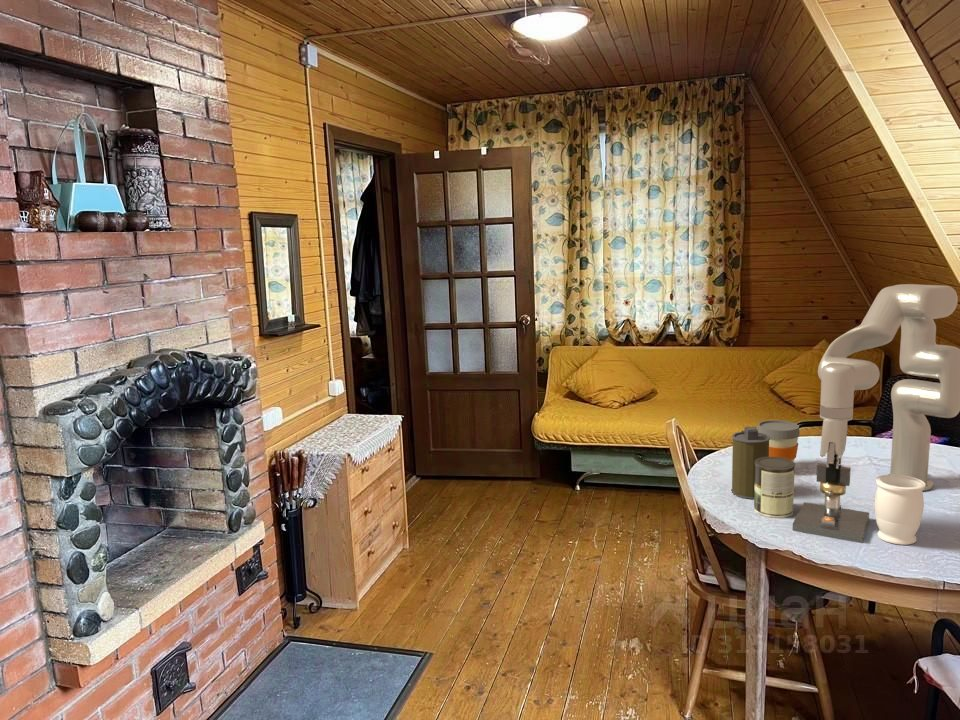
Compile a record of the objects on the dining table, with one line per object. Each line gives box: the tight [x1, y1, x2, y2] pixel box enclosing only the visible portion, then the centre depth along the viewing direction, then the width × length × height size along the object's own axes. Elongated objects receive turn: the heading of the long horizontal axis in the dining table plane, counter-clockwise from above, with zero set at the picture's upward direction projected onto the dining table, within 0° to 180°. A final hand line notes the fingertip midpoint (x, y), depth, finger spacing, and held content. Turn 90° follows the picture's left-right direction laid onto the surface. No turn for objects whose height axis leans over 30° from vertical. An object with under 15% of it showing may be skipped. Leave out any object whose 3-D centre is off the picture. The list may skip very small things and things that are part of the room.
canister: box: [730, 425, 770, 500], centre depth 212 cm, size 11×10×20 cm
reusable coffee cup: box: [756, 419, 800, 463], centre depth 230 cm, size 13×13×15 cm
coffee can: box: [753, 457, 796, 519], centre depth 199 cm, size 10×10×14 cm
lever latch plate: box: [792, 494, 870, 544], centre depth 188 cm, size 16×16×9 cm
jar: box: [873, 474, 925, 546], centre depth 179 cm, size 11×10×15 cm
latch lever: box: [816, 463, 852, 497], centre depth 187 cm, size 9×8×7 cm
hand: (833, 480), depth 187 cm, fingers closed on latch lever, 2 cm apart
